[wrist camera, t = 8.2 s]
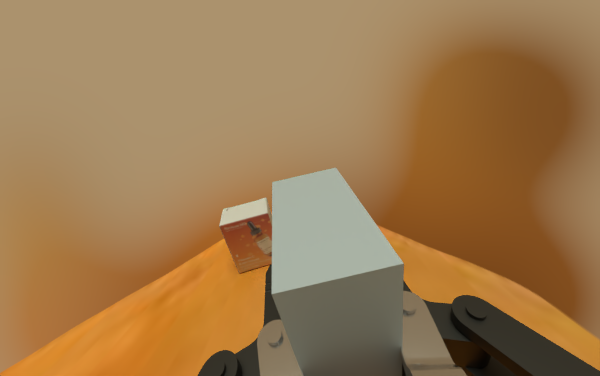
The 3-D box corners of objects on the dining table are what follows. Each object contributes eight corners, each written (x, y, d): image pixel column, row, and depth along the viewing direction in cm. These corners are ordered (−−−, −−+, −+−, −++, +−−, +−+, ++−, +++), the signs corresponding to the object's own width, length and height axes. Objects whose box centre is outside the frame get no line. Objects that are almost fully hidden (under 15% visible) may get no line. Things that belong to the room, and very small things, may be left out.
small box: (239, 274, 39) (217, 226, 34) (240, 252, 44) (221, 208, 39) (283, 261, 40) (268, 212, 35) (280, 241, 45) (266, 196, 40)
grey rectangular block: (337, 466, 10) (271, 294, 5) (315, 333, 16) (272, 182, 10) (400, 451, 10) (403, 263, 5) (357, 324, 16) (335, 167, 10)
